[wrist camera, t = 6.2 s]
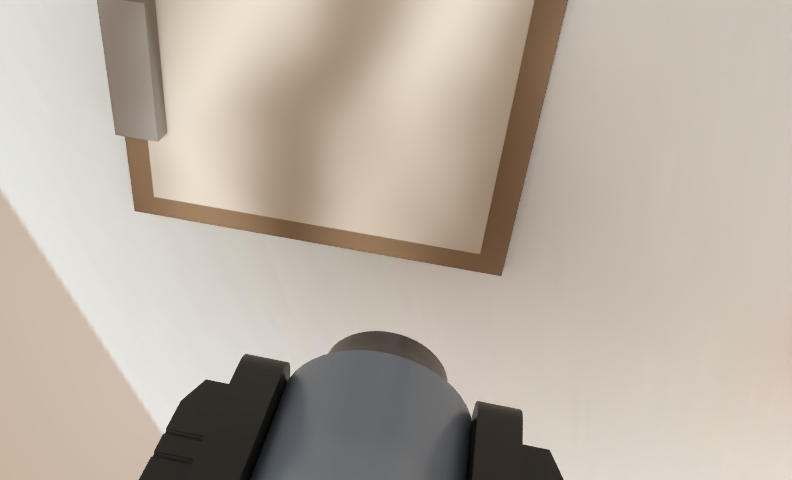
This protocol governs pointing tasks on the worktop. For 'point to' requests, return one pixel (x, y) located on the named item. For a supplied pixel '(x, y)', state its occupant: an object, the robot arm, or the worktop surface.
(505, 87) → the clipboard
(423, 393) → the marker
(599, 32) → the worktop surface
